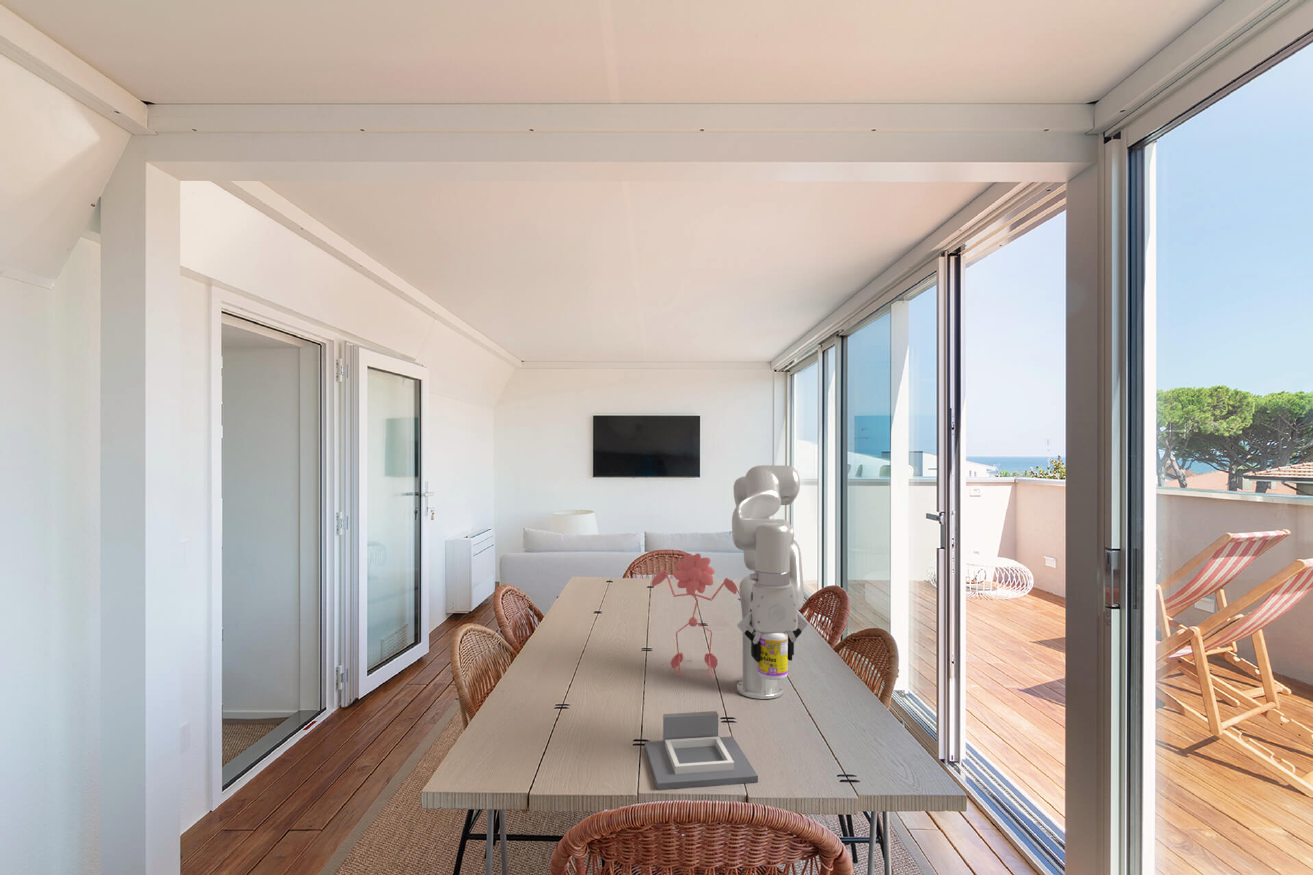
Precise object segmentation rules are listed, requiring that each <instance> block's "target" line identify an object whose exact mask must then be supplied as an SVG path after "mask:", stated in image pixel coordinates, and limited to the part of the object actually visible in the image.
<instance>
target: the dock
mask: <svg viewBox="0 0 1313 875" xmlns="http://www.w3.org/2000/svg"><path fill="white" fill-rule="evenodd" d="M662 716H663V717H662V720H663V721H662V724H663V725H662V740H655V741H645V742H644V749H645V753H646V755H647V759H648V763H649V766H650V769H651V773H652V775H653V779H654V783H655V785H656V786H655V787H656V789H657V791H660V790H661V791H662V790H673V789H674V790H675V789H676V790H677V789H685V788H686V789H687V788H700V787H713V786H724V784H725V786H726V784H728V785H737V784H736V783H741V784H751V783H750V782H754V783H759V775H758V773H757V772H756V770H755V769H754V768H753V766H752V765H751V762H750V761H749V759H748V758H747V756H746V754H745V753H744V752H743V750H742V749H741V747H740V745H739V744H738V743H737V741H736V739H735V737H734V736H733V735H732V736H730V735H729V736H721V737H720V736H719V714H718V712H717V711H716V710H715V711H713V710H712V711H711V710H710V711H695V712H678V713H663V715H662ZM746 782H747V783H746Z"/></svg>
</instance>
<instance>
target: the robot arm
mask: <svg viewBox="0 0 1313 875" xmlns="http://www.w3.org/2000/svg"><path fill="white" fill-rule="evenodd" d="M800 487H801V480H800V475H799V473H798V471H797V469H796V468H795V467H793V466H790V465H768V464H765V465H756V466H753V467H751V468H749V470H748V471H747V472H746V475H744V476H741V477H738V478H737V479H735V481H734V482H733V499H734V503H735V508H734V511H733V512H732V517H731V532H732V533H731V534H732V535H731V536H732V541H733V544H734V545H735V548H737V549H739V550H741V551H743V562H744V565H745V568H747V569H748V570H749V571H754V572H753V573H750V574H749V575H748V576H745V577H744V578H742V579H741V581H740V583H739V585H738V586H739V600H740V606H741V617H742V619H741V620H740V621H739V622H738V623H737V628H738V630H740V631H741V632H742V680H741V681H739V682H738V683H737V684H736V691H737V693H738V694H740V695H741V696H745V697H747V698H750V699H751V698H752V699H757V700H758V699H759V700H771V699H776V698H779V697H781V696H783V694H784V687H783V686H782V685H781V684H780V683H778V680H769V679H765V678H762V677H760V676H759V675H758V672H757V662H760V649H761V646H760V644H759V639H760V637H761V634H762V633H772V632H787V633H788V662H789V661H793V656H795V642H796V641H797V638H798V637H799V636H801V634H802V632H803V631H804V630H805V628H807V626H808V622H806V620H804V618H802V617H801V615H800V614H798V611H799V610H801V609H802V608H803V606H804V602H805V591H804V590H805V589H804V588H805V587H804V577H803V564H802V556H801V555H802V554H801V550H800V549H801V548H800V546H799V543H798V542H797V541H796V540H795V539H794V537H795V533H794V527H793V526H792V525H791V523H790V522H789V521H788V520H786V519H782V518H781V519H780V518H771V517H773V516H774V515H775V514H777V513H778V511H779V510H780V508H781V506H788V505H792V504H793V502H795V499H796V497H797V496H798V495H799V492H800Z"/></svg>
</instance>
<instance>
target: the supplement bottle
mask: <svg viewBox="0 0 1313 875" xmlns="http://www.w3.org/2000/svg"><path fill="white" fill-rule="evenodd" d="M759 644H760V646H761V649H760V662H757V672H758V675H759V676H760V677H762V678H765V679H769V680H777V681H780V680H784V679H785V678H787V676H788V671H789V670H788V668H789V665H788V664H789V663H788V662H789V660H788V633H787V632H772V633H762V634H761V637H760V639H759Z"/></svg>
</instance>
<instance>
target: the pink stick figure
mask: <svg viewBox="0 0 1313 875" xmlns="http://www.w3.org/2000/svg"><path fill="white" fill-rule="evenodd" d="M710 563H711V560H710V558H709V557H702V556H701V554H700V553H695V554H694V555H692V556H691V555H690V554H689V553H684V554H683V557H682V561H680V560H678V561H677V562H676V564H675V565H676V569H677V570H676V571H674V572H673V574H672V576H673V577H674V578H675V579H676V580H677V581H678V582H677V588H679V589H686V590H685V591H686V593H680V594H675V592H674V589H673V586H672V583H671V580H670V577H669V574H668V570H667V569H665V570H663V571H660V572H658V573H657V574H656V575H655V576H654V577H653V579H652V581H651V586H652V587H655V586H658V585H659V584H661V583H662V582H664V581H665V580H666V578H667V582H668V585H669V588H670V591H671V593H672V596H673V597H675V598H676V597H684V596H691V597H693V598H694V600H695V604H694V610H693V614H692V617H690V618H689V620H688V623H687V624H685V625H684V626H682V627H681V628H680V629H678V630H677V631H676V632H675V638H676V639H675V640H676V650H677V653H676V654H675V655H674V656H673V657H672V658H671V660H670V662H671V663H670V666H671V668H672V670H674V669H676V668H677V676H679V677H680V676H681V663H682V662H683V661H684V654H683V653H682V652H679V650H680V649H679V641H678V633H679V632H681V631H682V630H684V628H686V627H687V626H688V625H689V626H690V627H693V628H694V627H697V625H699V627H701V628H703V629H705V630H706V631H708V632H709V633H710V637H709V651H708V653H705V654H704V658H703V659H704V660H703V661H704V662H703V663H705V664H706V665H707V666H708V677H711V675H712V673H711V672H712V670H711V668H712V669H713V670H715V669H716V668H717V666H718V658H717V656H715V655H714V653H712V652H711V651H712V650H711V649H712V639H713V638H712V637H713V636H712V635H713V632H712V631H711V630H710V629H709V628H707V627H705V626H704V625H702V624H700V623H699V622H698V619H697V618H696V617H695V613H696V610H697V608H698V607H697V606H698V603H699V602H698V600H699V599H698V598H701V599H705V600H708V601H711V602H712V600H714V599H715V597H716V596H717V594H718V593H719V591H720V590H721V589H722V588H723V587H725V588H726V589H727V591H730V593H733V594H734V595H736V594H737V591H738V586H737V585H736V584H735V582H734V581H732V580H731V579H729V578H728V577H725V579H724V580H723V583H721V585H720V586H719V587H718V589H717V590H716V591H715V593H714V594H713V595H712V596H711V598H710V597H706V596H703V595H700V594H704V593H705V590H706V586H713V585H714V579H713V577H712V575H714V574H715V569H713V567H711V566H709V565H710ZM696 591H697V593H699V594H697V593H695V592H696ZM697 597H698V598H697ZM667 663H668V662H666V663H663V664H662V666H663V665H668V664H667Z"/></svg>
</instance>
